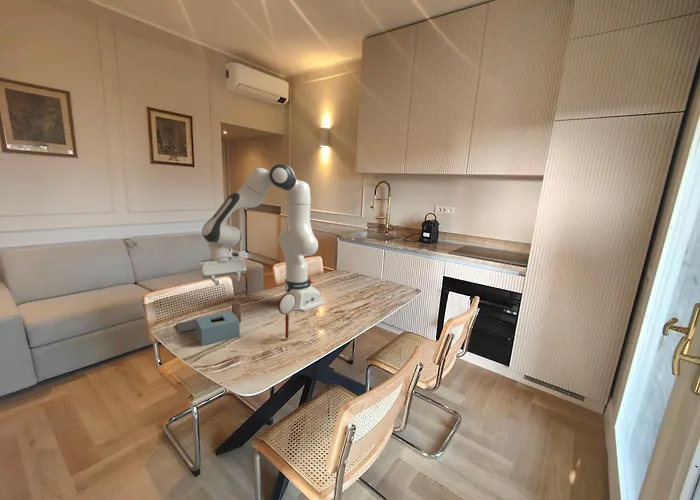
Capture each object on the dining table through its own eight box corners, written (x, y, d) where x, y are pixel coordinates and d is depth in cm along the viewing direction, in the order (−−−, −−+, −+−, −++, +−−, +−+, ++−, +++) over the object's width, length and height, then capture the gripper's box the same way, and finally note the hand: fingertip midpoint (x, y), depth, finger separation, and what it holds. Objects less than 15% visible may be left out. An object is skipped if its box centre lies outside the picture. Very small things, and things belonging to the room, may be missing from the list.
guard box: (231, 325, 129) (231, 310, 128) (239, 336, 121) (239, 320, 119) (196, 334, 121) (195, 318, 119) (202, 346, 112) (201, 329, 111)
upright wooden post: (238, 319, 135) (238, 301, 134) (240, 322, 133) (240, 303, 131) (232, 321, 134) (231, 302, 132) (234, 323, 131) (233, 304, 129)
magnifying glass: (293, 335, 124) (294, 290, 120) (296, 336, 123) (297, 291, 119) (277, 342, 117) (277, 295, 113) (279, 344, 116) (280, 296, 112)
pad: (199, 320, 132) (199, 318, 132) (203, 328, 125) (203, 326, 125) (176, 325, 127) (176, 323, 126) (179, 334, 120) (179, 332, 119)
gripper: (198, 257, 136) (204, 283, 131) (243, 253, 149) (250, 276, 143) (197, 264, 141) (202, 289, 135) (240, 259, 153) (247, 283, 148)
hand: (227, 283), depth 139 cm, fingers open, 8 cm apart
